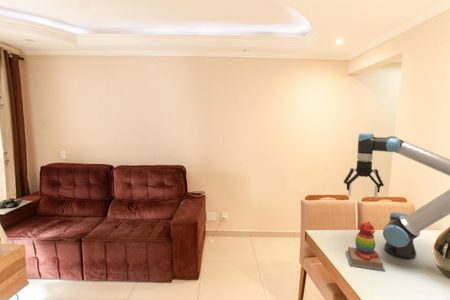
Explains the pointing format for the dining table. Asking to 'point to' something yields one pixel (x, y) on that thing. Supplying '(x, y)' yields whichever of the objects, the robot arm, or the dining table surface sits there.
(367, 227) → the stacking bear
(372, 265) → the board
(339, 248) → the dining table surface
